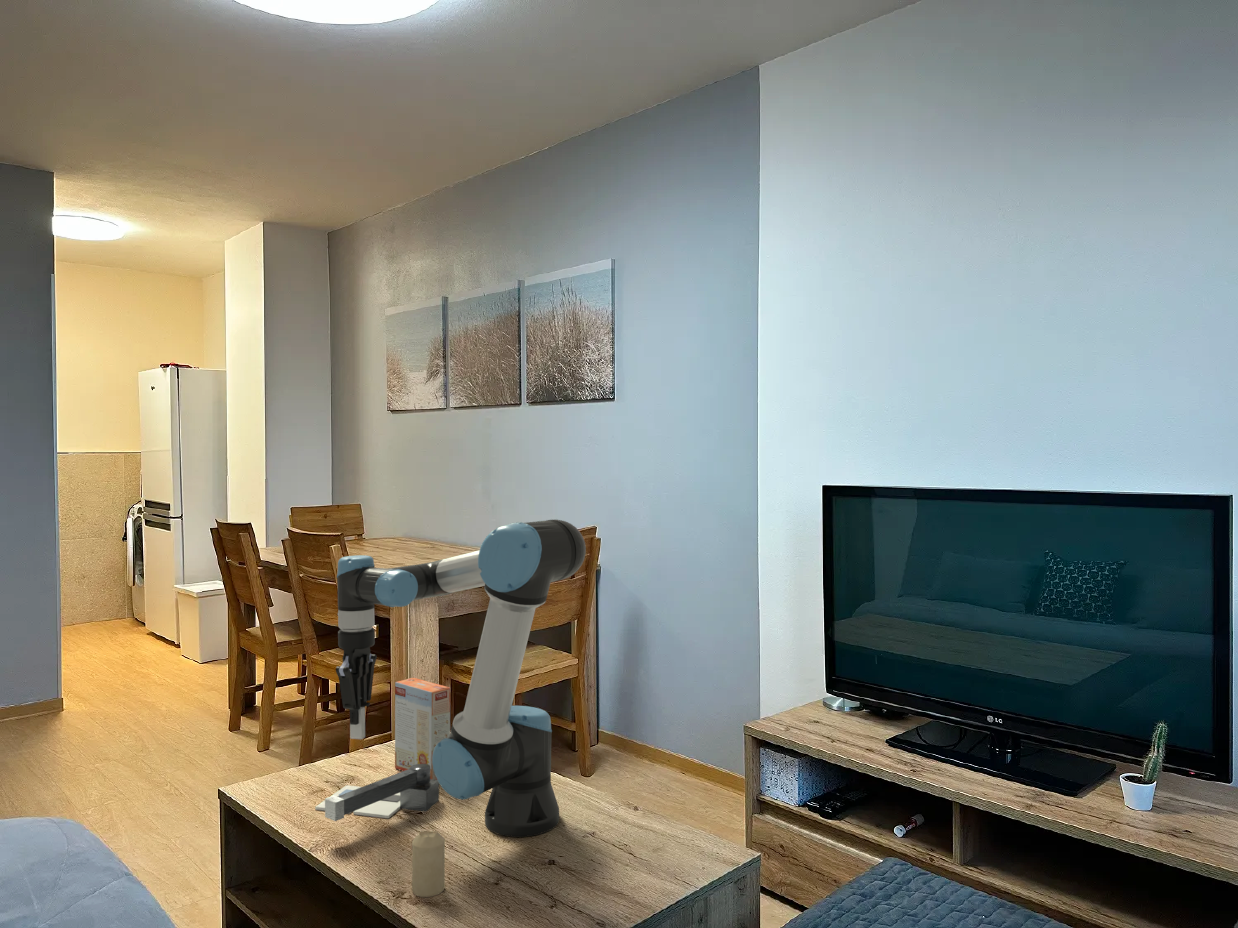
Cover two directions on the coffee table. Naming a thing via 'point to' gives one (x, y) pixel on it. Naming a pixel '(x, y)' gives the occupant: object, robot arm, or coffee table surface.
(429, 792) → the pivot post
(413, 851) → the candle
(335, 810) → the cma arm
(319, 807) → the label plate
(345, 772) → the coffee table surface
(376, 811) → the label plate
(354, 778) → the coffee table surface
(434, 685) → the cracker box
